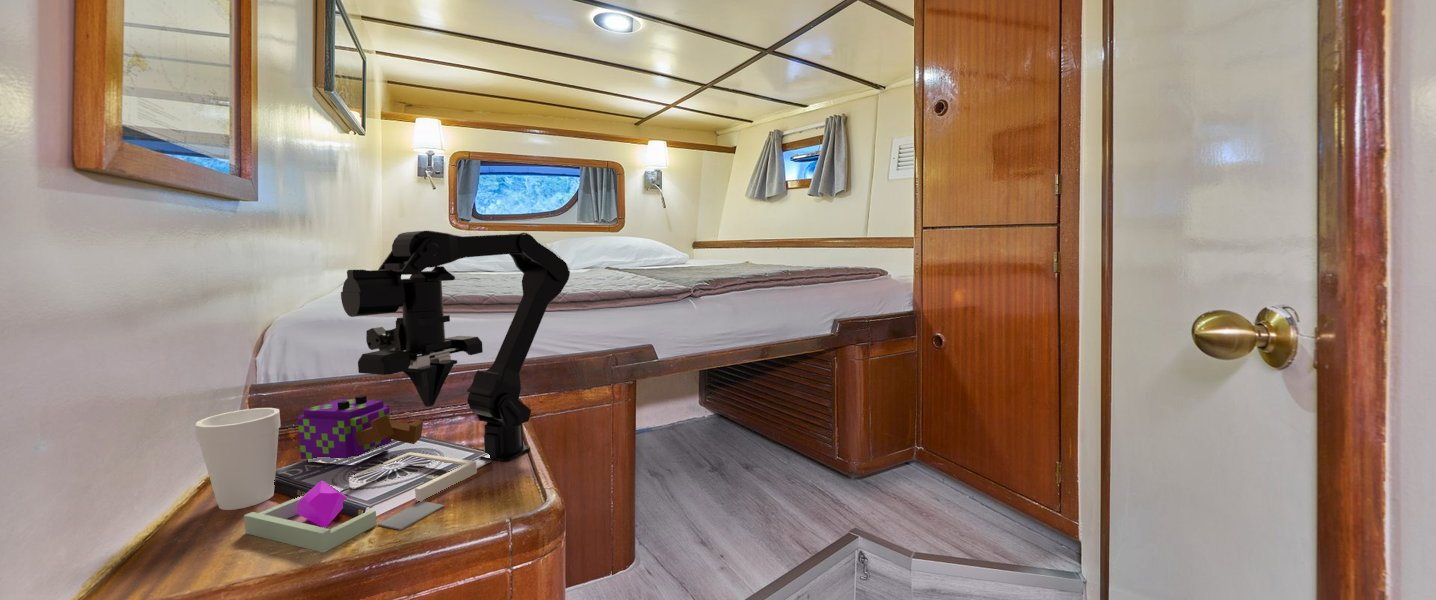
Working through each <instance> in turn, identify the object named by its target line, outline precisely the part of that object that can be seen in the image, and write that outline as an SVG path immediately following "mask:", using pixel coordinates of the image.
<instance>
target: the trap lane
mask: <svg viewBox="0 0 1436 600" xmlns="http://www.w3.org/2000/svg"><path fill="white" fill-rule="evenodd" d="M407 456H414V457H420V458H425V459H430V460H435V461H440V462H444V463H455V464H461V465H462V466H460V467H458V468H456V469H454V470H452V471H450V472H448V471H447V472H446V473H443V474H441V475H439V476H438V477H434V479H431V480H429V481H427V482H425V483H423V484H421V485H419V486H416V487H415V488H414V493H415V501H416V500H417V501H416V502H418V501H420V502H421V501H423V500H424V499H426V498H428V497H430V496H432V495H434V494H436V493H437V494H439V493H441V492H442V491H441V490H443V491H445V490H447V489H449V488H451V487H452V486H451V485H453V486H455V485H457V484H458V482H459V483H460V481H461V482H462V481H464V480H466V479H468V478H470V477H472V476H475V475H476V474H477V473H478V469H477V468H478V467H477V461H475V460H469V459H462V458H456V457H455V458H454V457H447V456H441V455H435V454H434V455H433V454H427V453H419V452H412V451H408V452H407V453H403V454H401V455H399V456H395V457H394V458H391V459H389V460H386V461H384V462H382V463H383V465H386V464H389V463H392V462H395V461H398V460H400V459H403V458H406V457H407ZM380 466H382V465H381V463H379V464H377V465H374V466H371V467H370V468H367V469H365V470H361V471H359V472H357V473H354V474H355V475H354V474H352V475H351V476H355V477H356V476H359V475H361V474H364V473H366V472H368V471H370V470H373V469H376V468H378V467H380ZM456 483H457V484H456ZM454 484H455V485H454ZM450 486H451V487H450ZM448 487H449V488H448ZM446 488H447V489H446ZM444 489H445V490H444ZM440 491H441V492H440ZM438 492H439V493H438ZM437 494H436V495H437ZM299 496H300V497H299ZM299 496H297V498H296V497H294V498H295V499H294V498H292V500H291V499H289V500H290V501H289V500H287V502H286V501H284V502H285V503H284V502H282V503H283V504H282V503H280V504H278V505H276V506H273V507H270V508H268V509H266V510H263V511H261V512H260V511H259V512H254V511H251V512H249V513H246V514H244V515H243V519H244V530H245V534H247V535H251V536H256V537H259V538H263V539H267V540H271V541H276V542H279V543H284V544H288V545H292V546H295V547H300V548H304V549H308V550H311V551H315V552H320V553H326V552H327V551H330V550H331V549H333V548H335V547H338V546H339V545H341V544H343V543H345V542H347V541H350V540H351V539H353V538H354V537H356V536H359V535H360V534H363V533H364V532H366V531H367V530H368V531H369V530H370V529H372V528H374V527H376V526H378V523H377V522H378V521H377V512H376V510H374V509H373V510H372V509H370V510H368V511H366V512H364V513H362V514H359V515H357V516H355V517H353V518H351V519H348V520H347V521H345V522H343V523H340V524H338V525H335V526H334V527H332V528H327V527H326V528H323V527H321V526H319V525H313V524H309V523H304V522H301V521H300V522H299V521H295V520H291V519H290V518H291V517H294V516H296V515H298V514H296V510H297V506H298V503H299V500H300V498H302V497H303V496H301V495H299ZM434 496H435V495H434ZM432 497H433V496H432ZM430 498H431V497H430ZM428 499H429V498H428ZM426 500H427V499H426ZM424 501H425V500H424Z"/></svg>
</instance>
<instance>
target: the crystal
mask: <svg viewBox="0 0 1436 600" xmlns="http://www.w3.org/2000/svg"><path fill="white" fill-rule="evenodd" d="M329 484H330V483H329ZM329 484H328V483H327V482H325V481H324V480H320V481H319V482H318V483H316V484H315V485H314V486H313V487H312V488H311V489H310V490H308V491H307V492H306V493H304V494H305V495H304V494H303V495H304V496H303V497H302V498H300V500H299V503H298V506H297V510H296V514H297V515H299V517H300V516H301V517H303V518H304V519H306V520H307V521H310V522H312V523H314V524H316V525H317V526H318V527H322V528H323V527H326V528H327V527H328V526H329V525H330V524H331V523H332V522H333V520H335V518H336V517H337V515H339V513H340V512H341V511H342V509H343V508H344V507H343V502H344V500H345V499H347V498H349V496H346V495H345V494H344V493H342V492H339V491H338V490H336V489H335V488H333V487H332V486H330V485H329Z"/></svg>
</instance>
